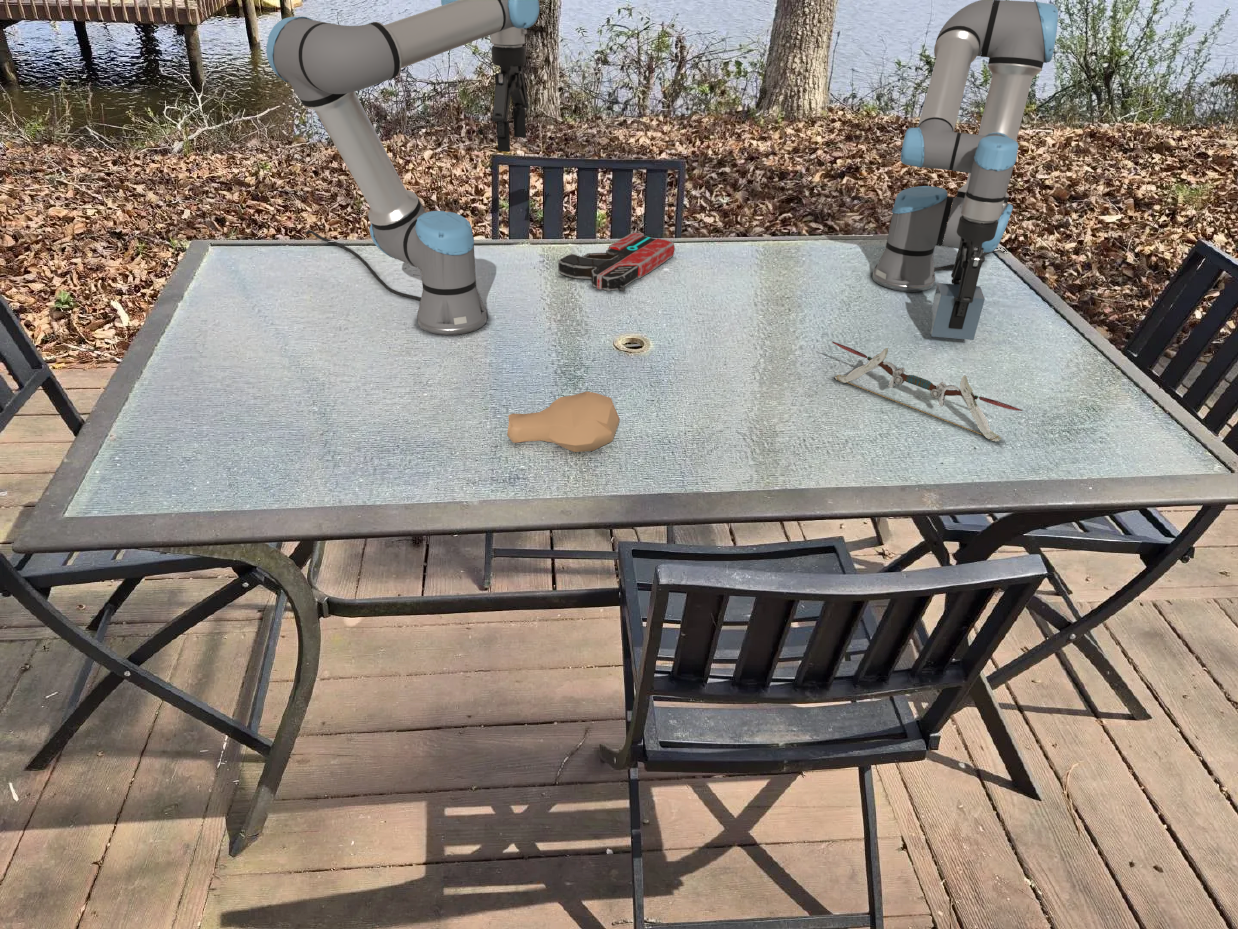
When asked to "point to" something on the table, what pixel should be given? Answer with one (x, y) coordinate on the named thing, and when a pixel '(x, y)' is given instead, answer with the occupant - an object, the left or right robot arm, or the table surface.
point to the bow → (936, 391)
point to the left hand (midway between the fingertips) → (512, 143)
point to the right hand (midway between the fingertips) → (953, 320)
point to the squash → (569, 423)
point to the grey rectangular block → (944, 310)
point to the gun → (618, 261)
